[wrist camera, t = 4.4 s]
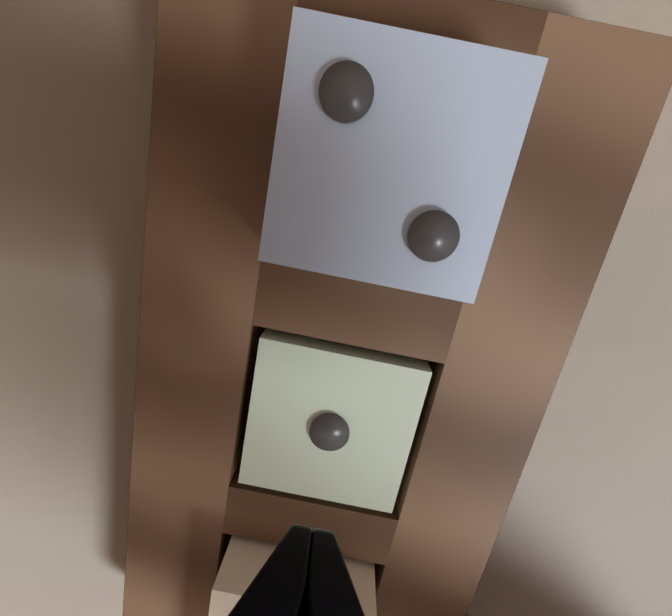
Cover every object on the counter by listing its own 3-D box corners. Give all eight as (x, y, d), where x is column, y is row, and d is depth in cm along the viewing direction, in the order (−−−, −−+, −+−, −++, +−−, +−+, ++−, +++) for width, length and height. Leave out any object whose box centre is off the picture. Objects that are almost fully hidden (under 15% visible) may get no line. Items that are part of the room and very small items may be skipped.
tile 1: (387, 471, 14) (392, 517, 12) (253, 444, 14) (236, 486, 12) (421, 346, 13) (433, 374, 11) (273, 317, 13) (258, 339, 11)
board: (417, 645, 18) (427, 716, 15) (152, 592, 17) (120, 656, 15) (617, 74, 11) (688, 40, 9) (203, -11, 11) (162, -68, 9)
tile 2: (453, 285, 11) (475, 305, 9) (275, 249, 11) (256, 261, 9) (509, 86, 9) (552, 55, 7) (306, 44, 9) (292, 2, 7)
